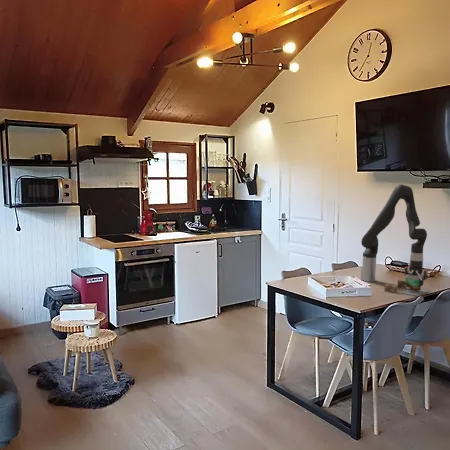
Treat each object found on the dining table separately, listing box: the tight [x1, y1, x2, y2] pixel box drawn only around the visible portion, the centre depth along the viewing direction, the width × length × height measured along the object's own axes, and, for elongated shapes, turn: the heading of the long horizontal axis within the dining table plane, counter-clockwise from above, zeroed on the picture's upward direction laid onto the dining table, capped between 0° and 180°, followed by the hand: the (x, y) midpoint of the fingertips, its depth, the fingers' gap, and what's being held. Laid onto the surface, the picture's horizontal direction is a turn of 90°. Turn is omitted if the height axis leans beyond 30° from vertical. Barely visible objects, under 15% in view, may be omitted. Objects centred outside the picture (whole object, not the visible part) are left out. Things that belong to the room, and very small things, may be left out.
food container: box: [404, 274, 422, 291], centre depth 293 cm, size 12×6×10 cm, turn 106°
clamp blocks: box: [384, 279, 406, 294], centre depth 303 cm, size 7×21×4 cm, turn 133°
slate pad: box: [401, 289, 429, 297], centre depth 294 cm, size 10×16×1 cm, turn 133°
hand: (415, 284), depth 294 cm, fingers closed on food container, 7 cm apart
